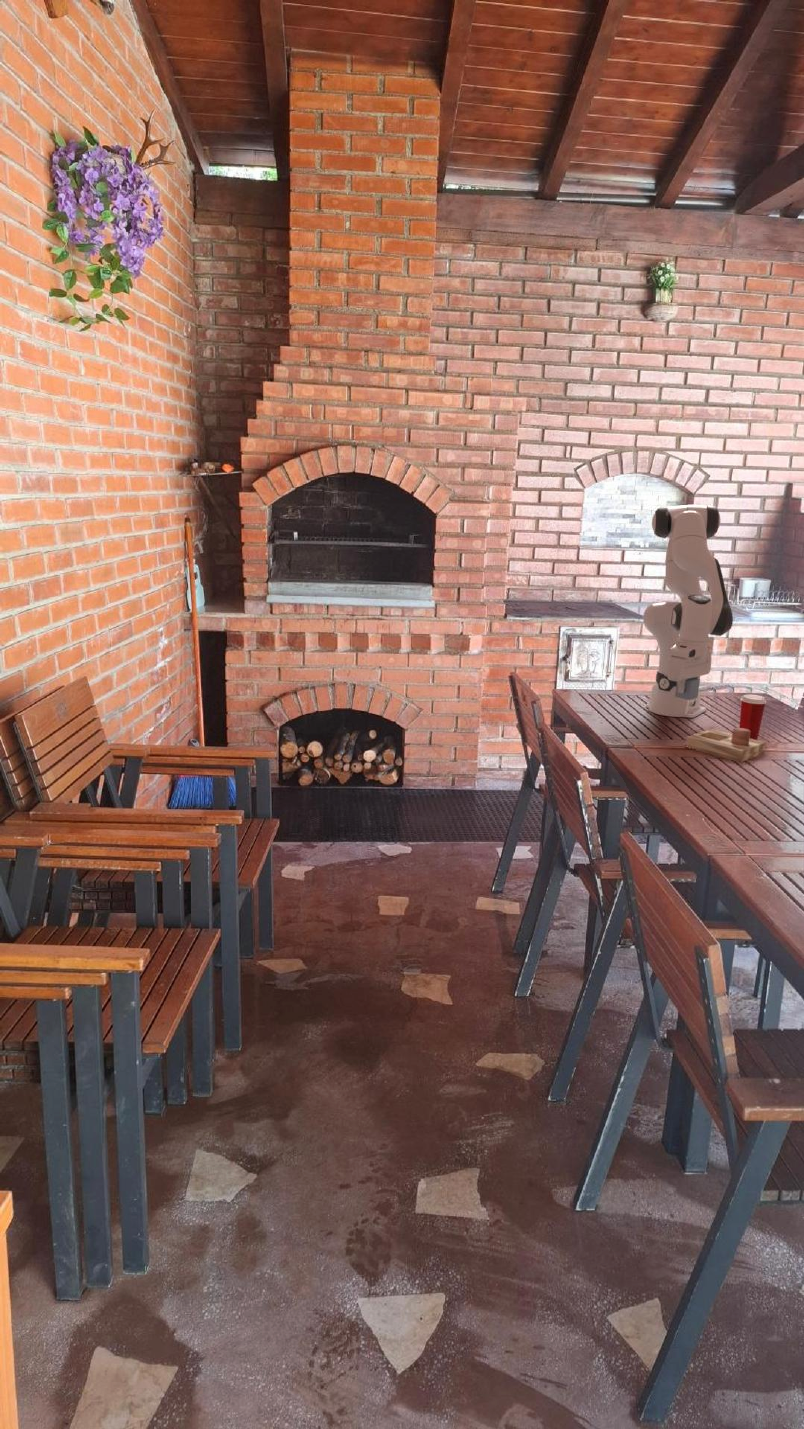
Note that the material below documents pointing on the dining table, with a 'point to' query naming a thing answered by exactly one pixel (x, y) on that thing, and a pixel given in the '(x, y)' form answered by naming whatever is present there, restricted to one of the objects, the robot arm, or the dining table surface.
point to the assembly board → (727, 744)
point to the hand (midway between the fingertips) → (687, 691)
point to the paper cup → (752, 714)
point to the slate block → (689, 689)
